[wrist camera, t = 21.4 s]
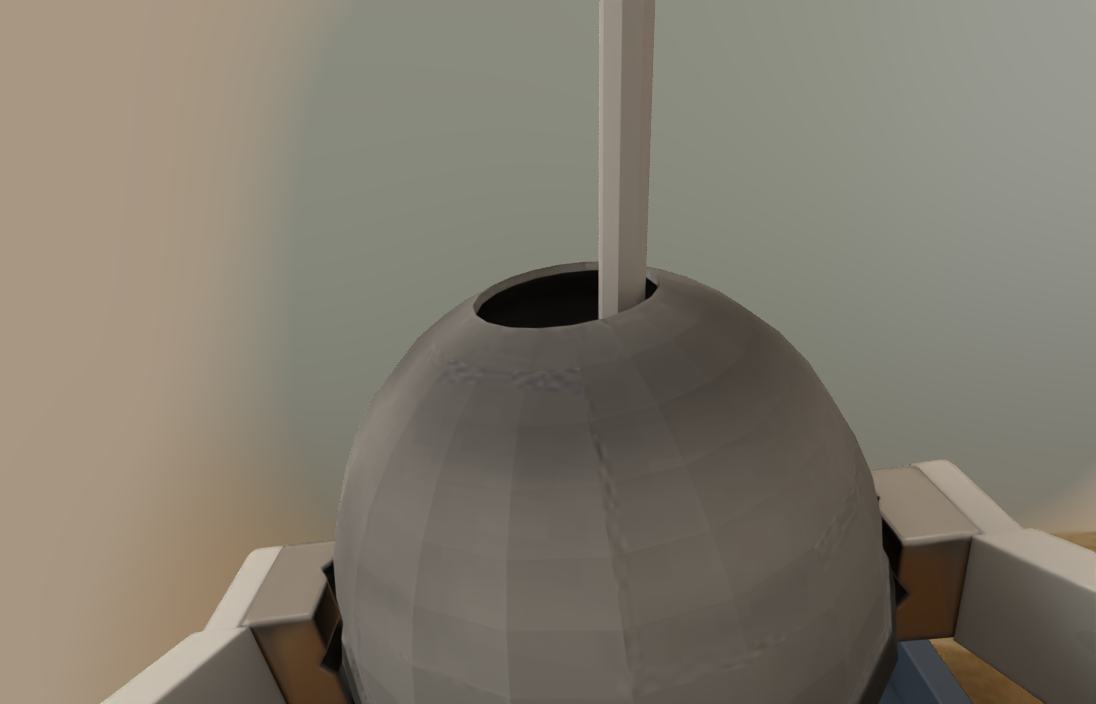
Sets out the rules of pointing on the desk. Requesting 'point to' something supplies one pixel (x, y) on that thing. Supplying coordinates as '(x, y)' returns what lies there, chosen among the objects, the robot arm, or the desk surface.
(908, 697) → the tray
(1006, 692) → the desk surface
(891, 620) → the beverage cup
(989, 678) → the desk surface
